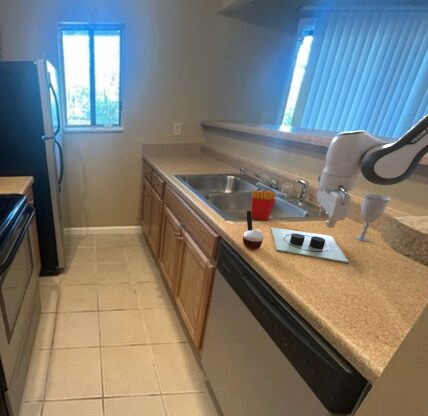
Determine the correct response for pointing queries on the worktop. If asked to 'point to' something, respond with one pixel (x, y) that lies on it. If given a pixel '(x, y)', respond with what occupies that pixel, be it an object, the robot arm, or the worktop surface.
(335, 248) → the pale blue square plate
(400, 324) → the worktop surface
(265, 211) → the french fries
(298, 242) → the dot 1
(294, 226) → the worktop surface
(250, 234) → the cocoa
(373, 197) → the chalice
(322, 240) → the dot
